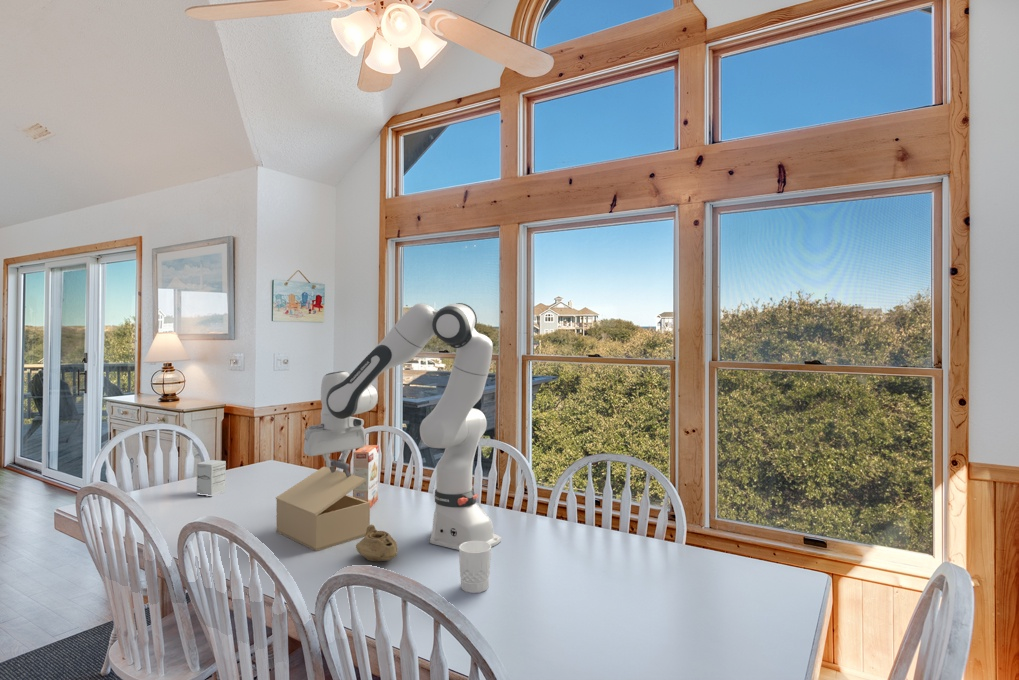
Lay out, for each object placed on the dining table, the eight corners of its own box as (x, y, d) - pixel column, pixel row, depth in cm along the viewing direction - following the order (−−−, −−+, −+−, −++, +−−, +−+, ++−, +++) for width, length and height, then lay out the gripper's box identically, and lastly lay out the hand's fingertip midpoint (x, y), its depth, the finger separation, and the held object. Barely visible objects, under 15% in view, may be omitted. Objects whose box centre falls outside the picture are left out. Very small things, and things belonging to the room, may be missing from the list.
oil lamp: (380, 572, 144) (380, 542, 144) (347, 558, 154) (347, 529, 154) (413, 559, 153) (413, 530, 153) (379, 546, 162) (379, 519, 162)
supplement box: (195, 495, 214) (195, 463, 214) (211, 490, 221) (211, 459, 221) (211, 497, 211) (211, 464, 211) (226, 492, 219) (226, 460, 218)
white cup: (474, 577, 141) (474, 538, 141) (497, 586, 136) (497, 545, 136) (452, 588, 135) (452, 547, 135) (475, 597, 130) (475, 555, 130)
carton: (369, 534, 172) (369, 502, 172) (316, 551, 158) (316, 516, 158) (328, 518, 188) (328, 488, 188) (276, 531, 174) (276, 500, 174)
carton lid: (365, 480, 171) (359, 465, 169) (316, 516, 158) (309, 500, 157) (324, 468, 187) (318, 454, 185) (276, 499, 174) (269, 485, 173)
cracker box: (369, 511, 195) (369, 452, 195) (352, 511, 195) (352, 451, 195) (379, 499, 209) (379, 444, 209) (363, 499, 209) (363, 444, 209)
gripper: (310, 427, 166) (310, 473, 166) (368, 419, 182) (368, 461, 182) (299, 425, 171) (299, 470, 171) (357, 417, 186) (357, 459, 186)
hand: (335, 465), depth 176 cm, fingers open, 3 cm apart
